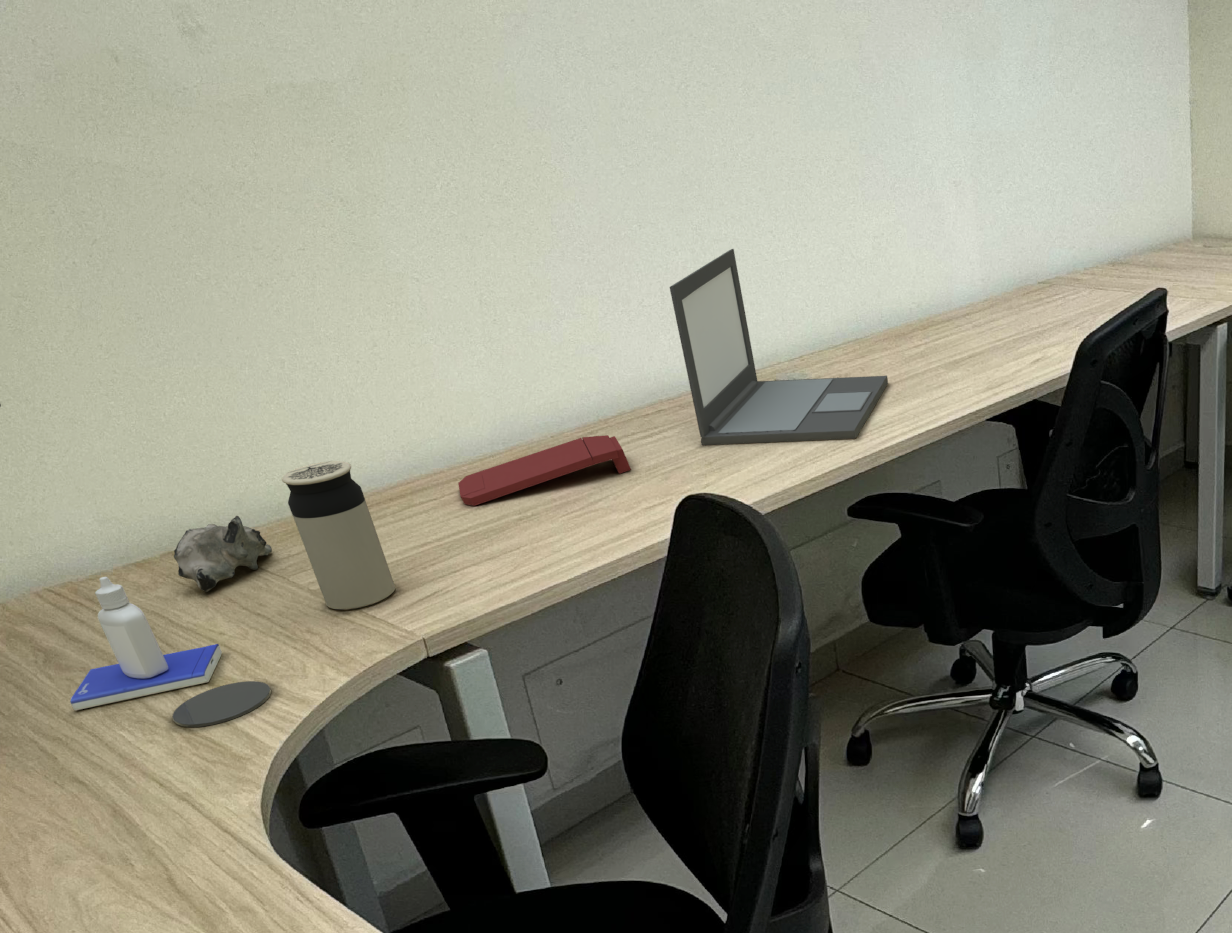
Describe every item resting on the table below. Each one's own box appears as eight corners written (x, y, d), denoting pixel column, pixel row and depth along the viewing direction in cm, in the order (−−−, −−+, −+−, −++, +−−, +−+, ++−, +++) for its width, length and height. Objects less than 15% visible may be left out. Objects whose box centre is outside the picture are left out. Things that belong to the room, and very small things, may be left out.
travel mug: (403, 596, 152) (359, 469, 144) (334, 617, 147) (285, 487, 139) (387, 579, 157) (345, 455, 149) (321, 598, 152) (273, 471, 144)
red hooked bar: (475, 528, 182) (633, 473, 191) (461, 501, 179) (621, 446, 189) (470, 504, 191) (621, 453, 200) (457, 478, 189) (610, 427, 198)
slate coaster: (167, 736, 122) (166, 733, 122) (180, 699, 130) (178, 696, 129) (267, 711, 126) (266, 708, 126) (274, 676, 134) (273, 673, 133)
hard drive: (68, 700, 127) (203, 672, 132) (90, 667, 134) (217, 641, 139) (74, 712, 128) (208, 683, 133) (96, 679, 134) (222, 653, 139)
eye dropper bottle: (121, 687, 129) (76, 592, 124) (123, 667, 133) (80, 575, 128) (169, 674, 132) (127, 580, 126) (170, 655, 136) (129, 564, 131)
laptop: (855, 439, 203) (832, 279, 191) (700, 446, 203) (667, 286, 191) (888, 383, 235) (869, 242, 223) (753, 389, 235) (728, 249, 223)
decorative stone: (199, 554, 165) (193, 490, 161) (277, 556, 169) (272, 493, 165) (167, 603, 152) (159, 534, 148) (252, 604, 156) (246, 537, 152)
